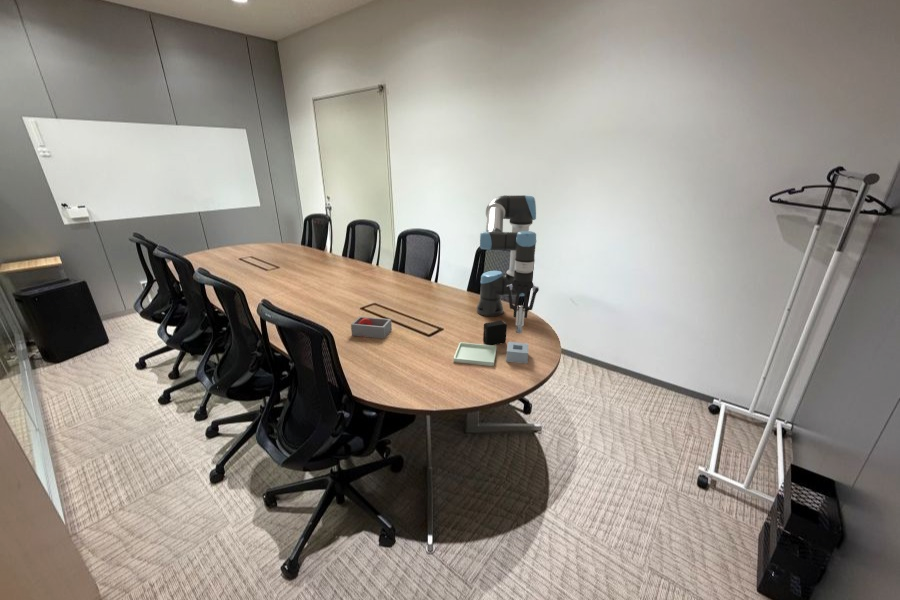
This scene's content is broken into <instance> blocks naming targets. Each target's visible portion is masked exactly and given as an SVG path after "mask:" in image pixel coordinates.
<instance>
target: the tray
mask: <svg viewBox="0 0 900 600" xmlns="http://www.w3.org/2000/svg"><path fill="white" fill-rule="evenodd" d="M497 348H498V345H486V344H485V343H484V344H480V343H471V342H462V341H461V342H459V343H458V345H457V348H456V351H455V352H454V356H453V360H452V361H453V363H458V364H459V363H461V364H470V365H478V366H487V367H488V366H489V367H494V366H495V361H496V354H497V351H498V350H497Z"/></svg>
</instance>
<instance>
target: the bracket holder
mask: <svg viewBox="0 0 900 600" xmlns="http://www.w3.org/2000/svg"><path fill="white" fill-rule="evenodd" d="M364 318H367V319H369V320H370V321H371V322H372V325H367V323H364V324H363V325H362V324H359V322H360V321H361V320H362V319H364ZM350 329H351V335H352V336H353V337H354V336H355V337H362V335H364V337H363V338H375V339H383V340H384V339H386V338H387V337H388V335H389V334H390V333H391V332H392V331H393V329H392V319H391V318H382V317H380V318H379V317H369V316H358V317H357V318H356V319H355V320H354V321H353V322H351V323H350Z"/></svg>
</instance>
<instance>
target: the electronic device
mask: <svg viewBox="0 0 900 600" xmlns="http://www.w3.org/2000/svg"><path fill="white" fill-rule="evenodd" d="M507 329H508V325H507V322H505V321H503V320H498V321H497V320H495V321H491V322H485V323H484V324H483V334H482V341H483V343H484V345H494V346H496V345H495V344H497V345H501V344H500V343H502V344H505V343H506V341H507Z"/></svg>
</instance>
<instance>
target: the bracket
mask: <svg viewBox="0 0 900 600" xmlns="http://www.w3.org/2000/svg"><path fill="white" fill-rule="evenodd" d="M364 323H367V325H372V322H371V321H370V320H369V319H367V318H364V319H362V320H361V321H360V322H359V324H362V325H363V324H364ZM361 337H362V338H365V337H364V335H362V336H361Z"/></svg>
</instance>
